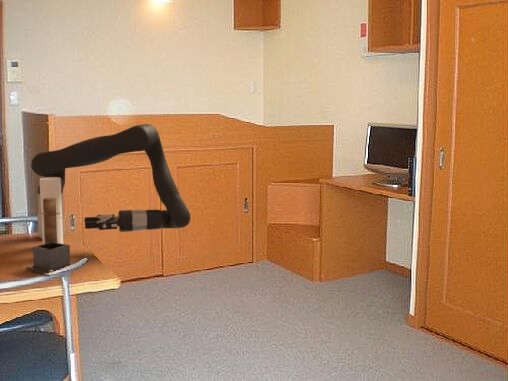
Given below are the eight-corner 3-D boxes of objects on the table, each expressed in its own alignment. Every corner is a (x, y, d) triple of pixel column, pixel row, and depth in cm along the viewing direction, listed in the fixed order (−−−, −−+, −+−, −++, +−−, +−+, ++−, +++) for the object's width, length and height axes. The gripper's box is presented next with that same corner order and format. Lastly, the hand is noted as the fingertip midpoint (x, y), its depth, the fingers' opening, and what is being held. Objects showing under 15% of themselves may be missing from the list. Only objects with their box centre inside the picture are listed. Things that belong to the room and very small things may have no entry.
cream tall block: (38, 247, 220) (35, 178, 216) (53, 243, 226) (50, 176, 222) (52, 250, 216) (49, 180, 213) (67, 245, 223) (65, 177, 219)
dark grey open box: (26, 270, 191) (25, 247, 190) (54, 262, 200) (53, 240, 199) (50, 276, 185) (49, 251, 184) (77, 267, 194) (77, 244, 193)
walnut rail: (42, 257, 206) (40, 198, 203) (52, 254, 210) (49, 197, 207) (51, 259, 204) (48, 200, 201) (60, 256, 208) (58, 198, 205)
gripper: (130, 206, 219) (83, 208, 215) (134, 213, 206) (84, 216, 201) (131, 227, 220) (84, 229, 216) (135, 235, 207) (85, 238, 202)
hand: (84, 223), depth 209 cm, fingers open, 8 cm apart
